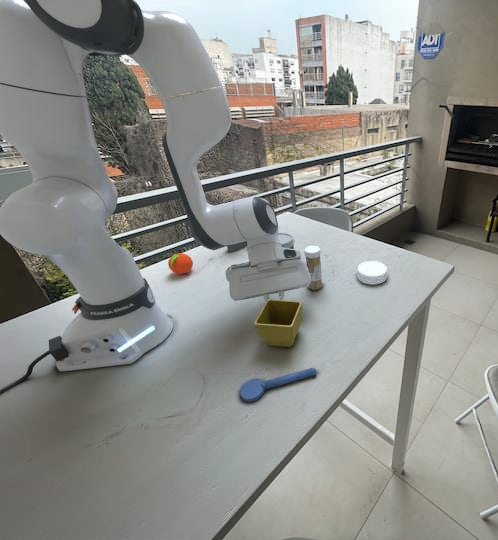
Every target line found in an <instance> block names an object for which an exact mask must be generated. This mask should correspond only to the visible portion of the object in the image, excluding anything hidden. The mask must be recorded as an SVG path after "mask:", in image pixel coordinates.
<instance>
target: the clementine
mask: <svg viewBox="0 0 498 540" xmlns="http://www.w3.org/2000/svg"><path fill="white" fill-rule="evenodd" d="M167 262H168V263H167V265H168V268H169V270H170V271H172V272H173V273H175V274H177V275H183V274H188V273H189V272H190V271H191V270H192V268H193V267H194V261H193V259H192V257H191V256H190V255H188V254H186V253H183V252H177V253H174V254H172V255H171V256H170V257H169V258H168V261H167Z"/></svg>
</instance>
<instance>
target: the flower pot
mask: <svg viewBox="0 0 498 540" xmlns="http://www.w3.org/2000/svg"><path fill="white" fill-rule="evenodd" d="M302 314H303V302H302V301H299V300H284V299H283V300H280V299H268V300H267V301H265V304H264V305H263V307H262V308H261V311H260V312H259V314H258V316H257V318H256V319H255V321H254V323H253V325H254V327H255V329H256V331H257V333H258V335H259V337H260V339H261V340H262V341H263V342H264V343H266V344H268V345H270V346H273V347H282V348H283V347H285V348H291V347H292V346H293V345H294V342H295V339H296V336H297V334H298V330H299V328H300V326H301V322H302V318H303V317H302V316H303V315H302Z"/></svg>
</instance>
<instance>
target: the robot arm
mask: <svg viewBox="0 0 498 540" xmlns="http://www.w3.org/2000/svg"><path fill="white" fill-rule="evenodd" d="M124 55H125V56H128V57H129V58H131V59H132V60H134V62H136V63H137V64H138V66H140V67H141V69H142V70H143V71H144V73H145V75H146V76H147V78H148V80H149V81H150V83H151V85H152V87H153V89H154V91H155V93H156V95H157V97H158V99H159V101H160V103H161V105H162V107H163V110H164V113H165V119H166V131H165V132H164V133H163V134H162V136H161V142H162V149H163V152H164V156H165V160H166V162H167V165H168V168H169V171H170V174H171V176H172V179H173V181H174V184H175V187H176V189H177V193H178V196H179V198H180V200H181V203H182V205H183V209H184V211H185V214H186V218H187V222H188V223H187V224H188V226H189V230H190V233H191V236H192V238H193V240H194V242H196V243H197V244H198V245H200V246H202V247H203V248H206V249H207V250H210V251H217V250H220V249H223V248H227V246H229V245H231V244H236V243H240V242H244V241H247V246H246V252H247V257H248V261H247V262H242V263H238V264H237V263H235V264H231V265H230V266H229V267H227V269H226V270H225V279H226V281H227V282H228V288H229V289H228V290H229V297H230V299H231V300H233V301H234V302H239V301H244V300H249V299H253V298H259V297H263V300H264V302H266V301H267V300H270V295H274V294H278V297H280V298H279V300H284V297H285V292H288V291H293V290H299V289H303V288H309V287H308V286H309V285H310V284H311V277H310V273H309V270H308V268H307V263H306V261H305V260H304V259H302V254H301V251H300V249H295V248H294V249H289V248H282V245H281V243H280V241H279V238H278V233H279V223H278V218H277V214H276V210H275V208H274V207H273V206H272V205H271V203H270V202H269V201H268V200H267V199H265V198H262V197H259V196H250V197H249V196H248V197H244V198H239V199H234V200H235V201H232V200H231V201H232V202H231V201H228V202H223V203H220V204H216V205H215V204H210V203H209V202H208V200H207V197H206V194H205V192H204V188H203V185H202V181H201V179H200V176H199V175H200V174H199V173H198V172H199V171H198V162H199V160H200V158H202V156H203V155H205V154H206V153H208V151H210V150H211V149H212V148H214V147H215V146H216V145H217V144H219V143H220V142H221V141H223V139H224V138H225V137H226V136H227V134H228V133H229V131H230V129H231V125H232V120H233V115H232V109H231V106H230V103H229V100H228V97H227V95H226V91H225V88H224V86H223V84H222V81H221V78H220V77H219V76H220V75H218V72H217V69H216V67H215V65H214V63H213V61H212V59H211V57H210V55H209V52H208V51H207V49H206V47H205V45H204V44H203V41H202V39H201V38H200V36H199V35H198V33H197V31H196V29H195V28H194V26H193V25H192V24H191V23H190V22H189V21H188V20H187V19H186V18H184V17H183V16H181V15H179V14H177V13H174V12H172V11H167V10H154V11H153V10H146V9H145V10H144V9H143V8H141V6H140V5H139V4H138V2H137V1H136V0H0V136H1V137H2V139H3V140H5V142H7V143H8V144H9V145H11V146H12V147H14V148H15V149H16V151H17V152H18V153H19V155H21V157H22V159H23V160H24V162H25V163H26V165H27V167H28V168H29V170H30V173H31V175H32V182H31V183H30V184H28V185H26V186H24V187H22V188H20V189H18V190H16V191H13V192H12V193H11V194H10V195H9V196H8V197H7V198H6V200H5V201H4V202H3V203H2V205H1V206H0V236H1V237H2V238H3V239H4V240H5V241H6V242H7V243H9V244H10V245H12V246H14V247H15V248H17V249H19V250H21V251H24V252H26V253H29V254H33V255H38V256H43V257H44V258H46V259H47V260H49V261H50V262H52V263H53V264H54V265H55V266H56V267H58V268H59V269H60V270H61V271H62V273H63V274H64V275H65V276H66V277H67V279H68V280H69V282H70V283H71V285H72V286H73V287H74V289H75V290H76V292H77V293H78V295H79V297H78V298H77V299H76V300H75V302H74V303H75V304H74V306H73V307H72V309H71V312H72V311H73V314H77V313H78V311H80V312H79V313H78V314H77V315H76V316H75V317H74V318H73V319H72V320H71V321H70V322H69V323H68V325H67V326H66V327H65V329H64V331H63V333H62V335H58V336H55V337H52V338H50V339H48V350H47V351H45V352H43V354H41V355H39V356H38V357H37V358H35V359H34V360H32V362H30V364H29V365H28V366H27V370H26V373H25V374H24V375H23V376H22V377H20V378H19V379H18V380H16V381H14V382H13V383H11V384H10V385H8V386H6V387H4V388H2V389H0V395H2V394H3V393H5V392H7V391H9V390H10V389H12V388H14V387H16V386H18V385H20V384H21V383H23V382H25V380H27V379H28V378H30V376H31V375H32V373H33V370H34V368H35V366H36V365H37V364H38V363H39V362H41V361H42V360H43V359H45V358H46V357H48V356H49V355H51V356H52V357H53V359H54V360H55V365H56V368H57V369H58V371H59V372H70V371H77V370H78V371H79V370H87V369H95V368H96V369H97V368H105V367H115V366H123V365H130V364H133V363H135V362H137V360H139V359H140V358H141V357H142V356H143V355H144V354H146V353H147V352H149V351H150V350H152V349H154V348H155V347H157V346H158V345H160V344H161V343H163V341H165V340H166V339H167V338H168V337H169V335H170V334H171V332H172V331H173V328H174V322H173V320H172V319H171V318H170V317H169V316H168V315H167V314H166V313H165V312H164V311H163V310H162V308H161V307H160V305H159V304H158V302H157V301H156V296H155V294H154V291H153V289H152V288H151V286H150V284H149V283H148V280H147V279H146V278H144V277H143V275H142V273H141V271H140V268H139V267H138V265H137V263H136V261H135V259H134V256H133V254H132V252H130V250H128V249H127V248H126V247H123V246H120V245H119V244H118V243H117V242H116V241H115V239H114V238H113V237H112V236H111V234H110V233H109V231H108V228H107V225H106V221H108V219H109V218H111V216H112V215H113V214H114V212H115V211H116V209H117V204H118V198H119V193H118V190H117V187H116V185H115V184H114V182H113V181H112V180H111V179H110V176H109V174H108V171H107V168H106V166H105V164H104V162H103V159H102V156H101V155H100V152H99V149H98V145H97V141H96V137H95V132H94V127H93V120H92V115H91V111H90V106H89V100H88V97H87V91H86V86H85V81H84V74H83V63H84V60H85V58H86V57H87V56H89V57H100V56H101V57H102V56H104V57H105V56H124Z"/></svg>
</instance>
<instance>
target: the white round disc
mask: <svg viewBox="0 0 498 540" xmlns="http://www.w3.org/2000/svg"><path fill="white" fill-rule="evenodd" d="M356 276H357V279H358V280H359V281H360V282H361V283H363V284H366V285H372V286H374V285H380V284H383V283H384V282H385V281H386V280H387V278H388V267H387V266H386V265H385V264H384V263H383V262H381V261H377V260H366V261H363V262H361V263H359V264H358V265H357V268H356Z"/></svg>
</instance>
